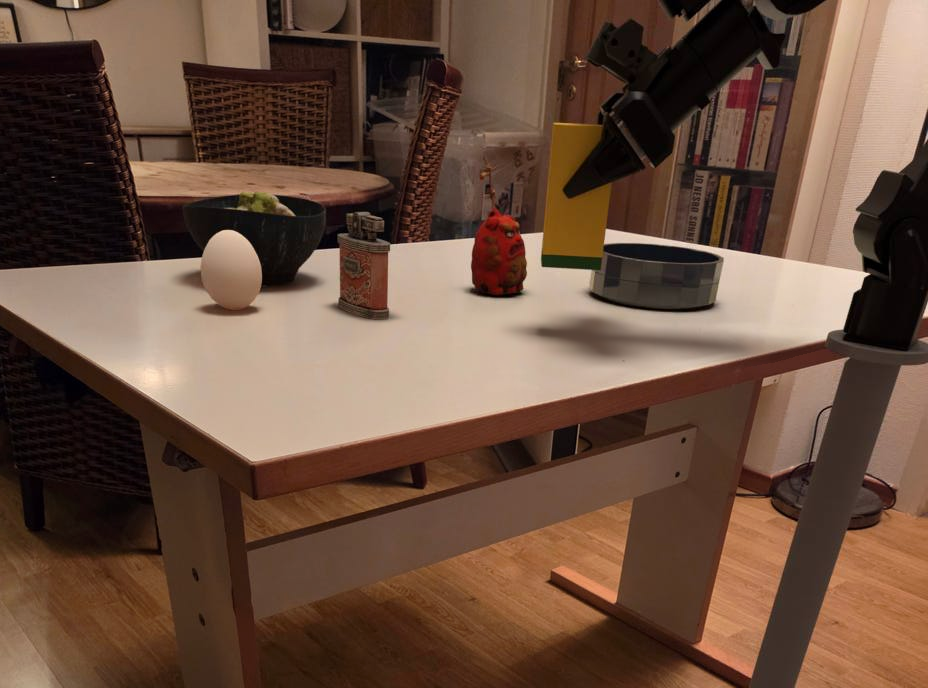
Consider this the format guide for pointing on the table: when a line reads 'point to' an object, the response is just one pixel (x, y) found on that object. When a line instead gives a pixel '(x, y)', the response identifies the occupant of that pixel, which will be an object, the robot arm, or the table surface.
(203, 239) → the bowl
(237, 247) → the egg
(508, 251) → the red clay folk toy
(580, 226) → the sponge
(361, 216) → the lighter
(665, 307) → the slate bowl
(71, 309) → the table surface
